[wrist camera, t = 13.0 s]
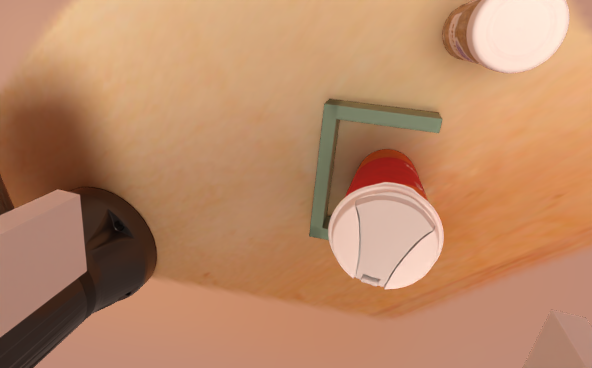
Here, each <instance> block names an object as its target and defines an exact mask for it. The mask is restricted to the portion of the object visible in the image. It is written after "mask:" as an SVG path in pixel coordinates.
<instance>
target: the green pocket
mask: <svg viewBox="0 0 592 368" xmlns="http://www.w3.org/2000/svg"><path fill="white" fill-rule="evenodd" d="M339 120H346V121H354V122H361V123H368V124H376V125H383V126H390V127H398V128H405V129H412V130H420V131H427V132H434V133H439V132H440V127H441V123H442V118H441V116H440V114H439V113H437V112H429V111H421V110H413V109H405V108H397V107H390V106H382V105H374V104H366V103H358V102H350V101H342V100H334V99H329V100H328V101H327V102H326V103H325V104H324V112H323V121H322V129H321V138H320V147H319V155H318V164H317V173H316V182H315V190H314V199H313V208H312V216H311V225H310V234H309V236H311V237H316V238H321V239H326V240H329V237H328V227H329V222H330V219H331V216H328V215H327V211H328V203H329V195H330V188H331V180H332V173H333V165H334V158H335V150H336V142H337V135H338V127H339Z"/></svg>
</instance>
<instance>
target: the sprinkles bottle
mask: <svg viewBox="0 0 592 368" xmlns="http://www.w3.org/2000/svg"><path fill="white" fill-rule="evenodd" d="M568 26H569V8H568V5H567V2H566V0H473V1H471V2H469V3H467V4H464V5H461V6H460V7H458V8H457V9H456V10H454V11H453V12H452V13H451V14H450V16H449V17H448V19H447V20H446V22H445V25H444V28H443V42H444V45H445V48H446V50H447V51H448V52H449V53H450V54H451V55H452V56H454V57H456V58H458V59H462V60H467V61H470V62H474V63H479V64H481V65H483V66H484V67H486V68H488V69H491V70H494V71H497V72H502V73H519V72H524V71H528V70H530V69H533V68H535V67H537V66H539V65H540V64H542V63H544V62H545V61H546V60H548V59H549V58H550V57H551V56H552V55H553V54H554V53H555V52H556V51H557V49H558V48H559V47H560V45H561V44H562V42H563V40H564V38H565V36H566V33H567V30H568Z"/></svg>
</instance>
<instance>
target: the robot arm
mask: <svg viewBox="0 0 592 368" xmlns="http://www.w3.org/2000/svg"><path fill="white" fill-rule="evenodd" d="M155 264H156V249H155V244H154V240H153V237H152V235H151V233H150V230H149V228H148V227H147V225H146V223H145V222H144V220H143V219H142V218H141V216H140V215H139V214H138V213H137V212H136V210H134V209H133V208H132V207H131V206H130V205H129V204H128V203H127V202H125V201H124V200H123V199H121V198H120V197H118V196H116V195H114V194H112V193H110V192H108V191H105V190H102V189H98V188H90V187H85V188H78V189H74V190H72V191H70V192H67V191H63V190H59V189H57V190H55V191H53V192H51V193H48V194H46V195H44V196H42V197H40V198H37V199H35V200H33V201H31V202H29V203H26V204H24V205H22V206H20V207H17V208H15V209H14V206H13V204H12V201H11V199H10V197H9V194H8V192H7V189H6V187H5V184H4V182H3V180H2V177H1V175H0V368H34V367H35V366H36V365H37V364H38V363H39V362H40V361H41V360H42V359H43V358H44V357H45V356H47V355H48V354H49V353H50V352H51V351H52V350H53V349H54V348H55V347H56V346H57V345H58V344H60V343H61V342H62V341H63V340H64V339H65V338H66V337H67V336H68V335H69V334H70V333H71V332H73V330H74V329H76V328H77V327H78V326H79V325H80V324H81V323H82V322H83V321H84V320H85V319H86V318H88V317H89V316H90V315H91V314H92V313H94V312H97V311H99V310H101V309H103V308H105V307H108V306H110V305H112V304H114V303H115V302H117V301H120V300H123V299H125V298H127V297H129V296H131V295H132V294H134V293H135V292H136V291H138V289H140V287H142V286H143V285H144V284H145V283H146V282H147V281H148V279H149V278H150V277H151V275H152V273H153V271H154V268H155ZM523 368H592V326H591V325H590V323H589V322H588V320H587V319H586V318H585V317H581V316H577V315H573V314H569V313H565V312H561V311H557V310H551V311H550V313H549V315H548V317H547V319H546V321H545V323H544V326H543V328H542V329H541V331H540V333H539V335H538V337H537V339H536V341H535V343H534V346H533V347H532V349H531V351H530V353H529V355H528V358H527V360H526V362H525V364H524V366H523Z"/></svg>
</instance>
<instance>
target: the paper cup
mask: <svg viewBox="0 0 592 368" xmlns="http://www.w3.org/2000/svg"><path fill="white" fill-rule="evenodd" d="M328 237H329V243H330V246H331V249H332V251H333V253H334V255H335V257H336V259H337V261H338V263H339V264H340V266H341V267H342V268H343V269H344V270H345V272H346V273H347V274H349V275H350V276H351V277H352V278H354V276H355V278H358V279H360V280H361V282H364V283H367V284H370V285H373V286H376V287H377V285H379V286H381V287H383V286H384V289H396V288H401V287H405V286H408V285H410V284H413V283H415V282H416V281H418V280H419V279H421V278H422V277H423V276H424V275H426V274H427V273H428V271H429V270H430V269H431V268H432V266H433V265H434V263H435V262H436V261H437V259H438V257H439V255H440V253H441V250H442V247H443V240H444V235H443V227H442V223H441V220H440V218H439V216H438V214H437V212H436V211H435V209H434V208H433V206H432V205H431V204H430V203H429V202H428V200H427V197H426V195H425V192H424V190H423V187H422V184H421V182H420V179H419V177H418V174H417V172H416V170H415V168H414V166H413V164H412V162H411V161H410V160H409V159H408V158H407V157H406V156H405V155H404V154H402V153H400V152H398V151H395V150H390V149H384V150H379V151H376V152H373V153H371V154H370V155H368V156H367V157H366V158H365V159H364V160H363V162H362V163H361V165H360V166H359V168H358V170H357V172H356V174H355V176H354V178H353V181H352V183H351V185H350V187H349V189H348V191H347V194H346V196H345V198H344V199H343V200H342V201H341V202H340V203H339V204H338V205H337V207H336V208H335V210H334V211H333V214H332V216H331V219H330V222H329V227H328Z"/></svg>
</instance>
